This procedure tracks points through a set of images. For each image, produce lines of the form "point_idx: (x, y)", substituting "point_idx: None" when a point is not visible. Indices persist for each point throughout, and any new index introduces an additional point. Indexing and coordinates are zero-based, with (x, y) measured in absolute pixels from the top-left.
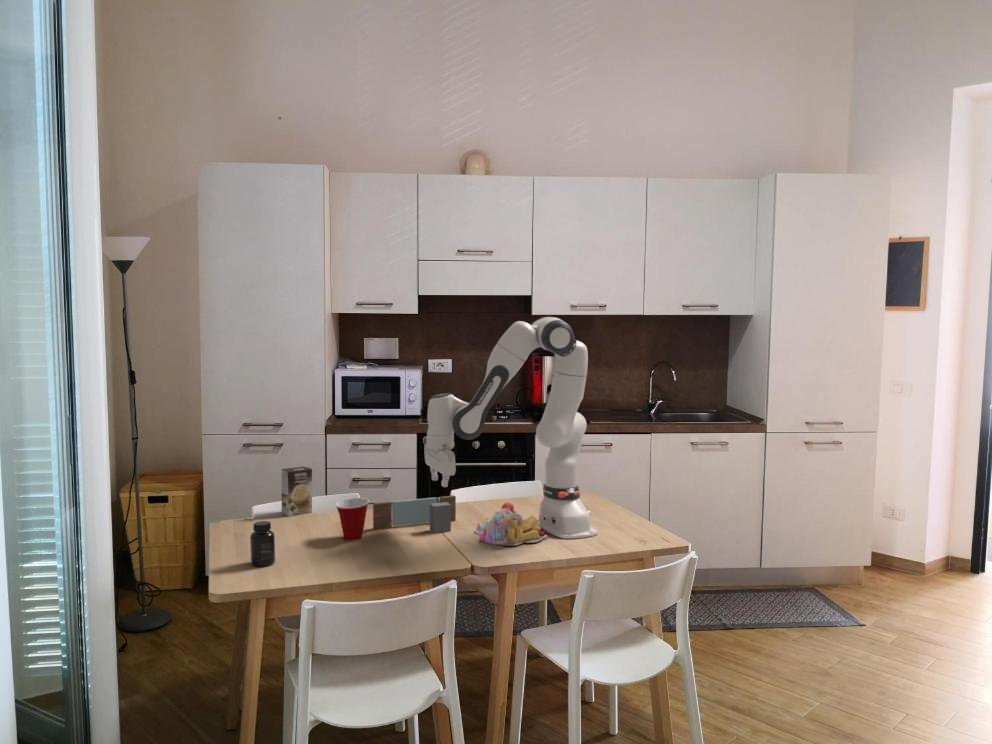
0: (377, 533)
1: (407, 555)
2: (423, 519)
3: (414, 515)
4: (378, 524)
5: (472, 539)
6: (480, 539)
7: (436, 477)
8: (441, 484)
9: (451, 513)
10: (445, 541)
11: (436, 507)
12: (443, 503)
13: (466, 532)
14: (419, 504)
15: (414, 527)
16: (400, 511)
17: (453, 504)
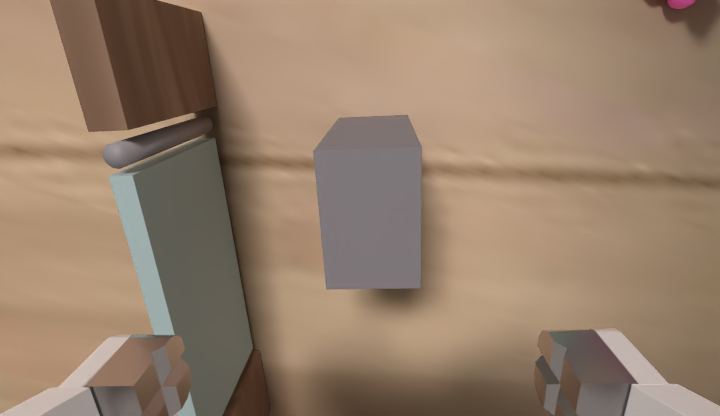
0: (325, 412)
1: None
2: (221, 219)
3: (220, 280)
4: (261, 413)
5: (617, 44)
6: (687, 5)
7: (157, 378)
8: (554, 408)
9: (182, 39)
10: (569, 200)
11: (420, 264)
12: (356, 193)
13: (467, 30)
14: (184, 288)
15: (280, 265)
16: (222, 368)
17: (142, 16)
